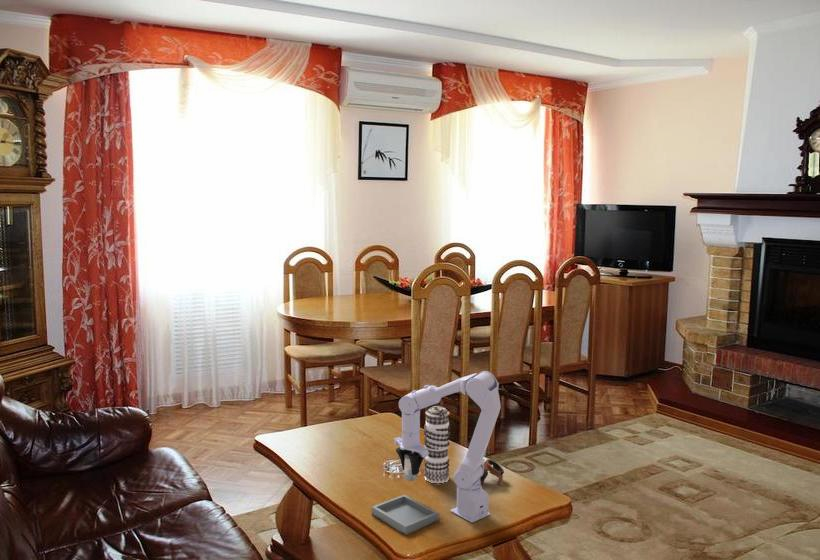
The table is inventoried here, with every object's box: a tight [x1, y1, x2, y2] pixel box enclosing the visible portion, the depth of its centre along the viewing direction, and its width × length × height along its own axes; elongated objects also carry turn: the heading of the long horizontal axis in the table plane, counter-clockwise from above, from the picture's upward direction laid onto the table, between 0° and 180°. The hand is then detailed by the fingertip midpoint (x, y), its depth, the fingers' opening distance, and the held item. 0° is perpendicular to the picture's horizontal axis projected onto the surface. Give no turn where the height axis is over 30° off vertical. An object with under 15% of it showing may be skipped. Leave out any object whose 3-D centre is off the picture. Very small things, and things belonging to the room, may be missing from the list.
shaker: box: [403, 451, 418, 482], centre depth 215 cm, size 4×4×8 cm
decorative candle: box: [423, 405, 452, 484], centre depth 229 cm, size 9×9×25 cm
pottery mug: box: [480, 459, 505, 486], centre depth 228 cm, size 12×10×8 cm
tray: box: [371, 494, 440, 536], centre depth 203 cm, size 16×13×2 cm
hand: (410, 471), depth 215 cm, fingers closed on shaker, 4 cm apart
